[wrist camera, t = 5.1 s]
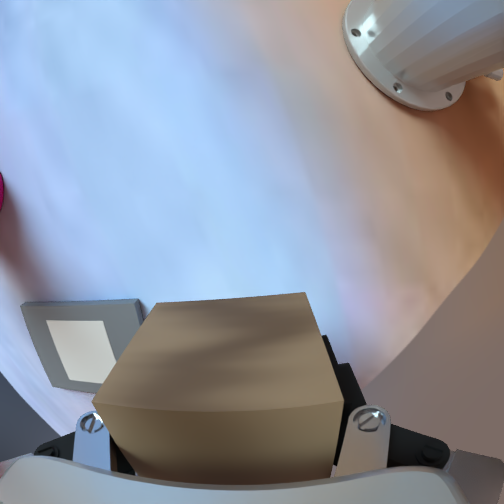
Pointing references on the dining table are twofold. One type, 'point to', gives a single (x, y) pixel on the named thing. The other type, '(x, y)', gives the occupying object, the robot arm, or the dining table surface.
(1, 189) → the pepper mill
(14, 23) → the dining table surface
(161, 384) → the walnut block
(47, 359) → the pad
